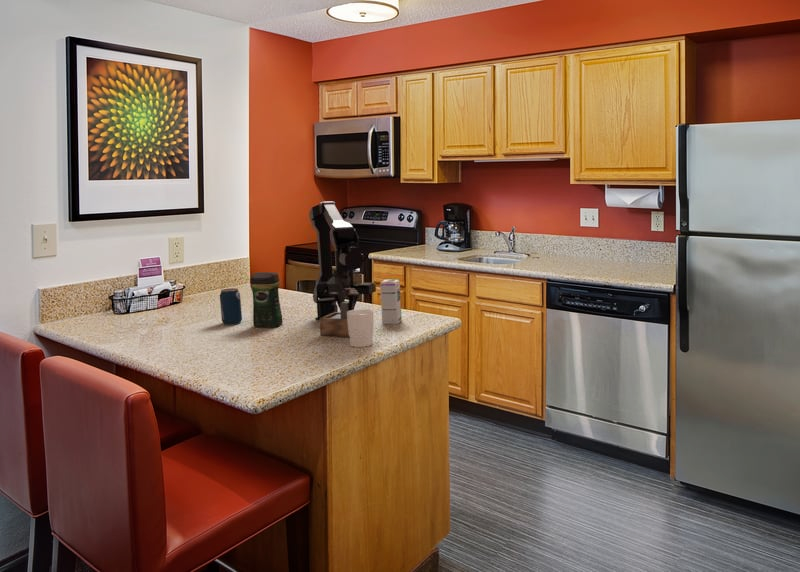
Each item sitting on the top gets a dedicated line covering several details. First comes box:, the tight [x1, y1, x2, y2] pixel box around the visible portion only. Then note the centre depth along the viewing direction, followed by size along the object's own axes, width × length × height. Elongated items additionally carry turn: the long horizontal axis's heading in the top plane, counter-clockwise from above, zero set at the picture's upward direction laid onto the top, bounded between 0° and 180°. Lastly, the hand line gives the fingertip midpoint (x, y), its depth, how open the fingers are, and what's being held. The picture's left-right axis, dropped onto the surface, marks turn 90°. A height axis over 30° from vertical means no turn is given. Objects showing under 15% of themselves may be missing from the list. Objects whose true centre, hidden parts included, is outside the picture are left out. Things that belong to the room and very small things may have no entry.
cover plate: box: [331, 300, 349, 319], centre depth 196 cm, size 10×7×6 cm
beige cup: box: [347, 308, 374, 348], centre depth 182 cm, size 8×8×10 cm
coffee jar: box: [249, 271, 283, 328], centre depth 210 cm, size 10×8×19 cm
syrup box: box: [379, 278, 402, 325], centre depth 209 cm, size 6×6×14 cm
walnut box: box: [319, 311, 349, 338], centre depth 197 cm, size 12×10×6 cm
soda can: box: [219, 287, 243, 326], centre depth 216 cm, size 7×7×12 cm
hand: (346, 314), depth 196 cm, fingers closed on cover plate, 2 cm apart
